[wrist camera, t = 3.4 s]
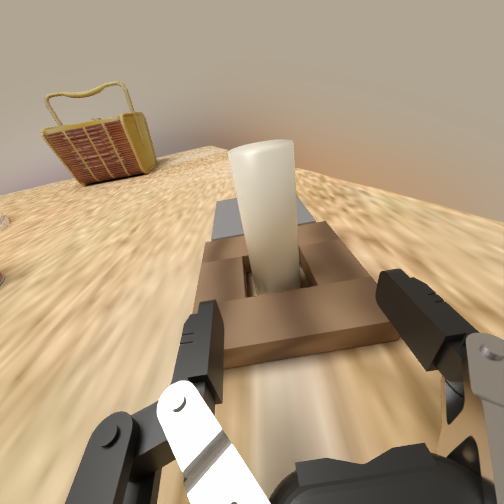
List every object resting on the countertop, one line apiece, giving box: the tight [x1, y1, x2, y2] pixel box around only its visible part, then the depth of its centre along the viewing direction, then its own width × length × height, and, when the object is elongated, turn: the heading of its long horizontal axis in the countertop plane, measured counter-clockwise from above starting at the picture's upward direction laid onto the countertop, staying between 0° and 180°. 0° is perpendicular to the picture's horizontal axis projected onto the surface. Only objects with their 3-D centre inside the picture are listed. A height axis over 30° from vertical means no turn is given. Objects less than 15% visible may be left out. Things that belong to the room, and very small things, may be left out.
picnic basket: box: [41, 82, 157, 185], centre depth 85 cm, size 29×26×30 cm
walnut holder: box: [193, 221, 400, 369], centre depth 23 cm, size 16×16×2 cm
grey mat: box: [211, 195, 316, 241], centre depth 40 cm, size 16×16×1 cm
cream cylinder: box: [228, 139, 300, 296], centre depth 20 cm, size 5×5×14 cm
